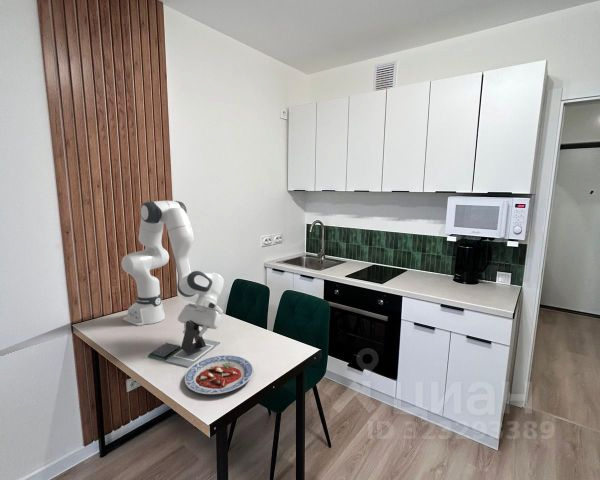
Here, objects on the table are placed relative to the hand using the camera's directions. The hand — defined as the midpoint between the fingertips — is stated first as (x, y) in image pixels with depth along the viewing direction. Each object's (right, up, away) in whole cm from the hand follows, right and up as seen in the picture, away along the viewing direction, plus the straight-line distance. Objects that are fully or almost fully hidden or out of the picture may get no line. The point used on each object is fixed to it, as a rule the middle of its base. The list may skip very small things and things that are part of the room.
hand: (191, 334), depth 145 cm
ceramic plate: (+16, -12, -17) cm, 26 cm away
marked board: (0, -8, +2) cm, 9 cm away
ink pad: (-12, -8, +2) cm, 15 cm away
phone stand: (0, -6, +2) cm, 6 cm away
